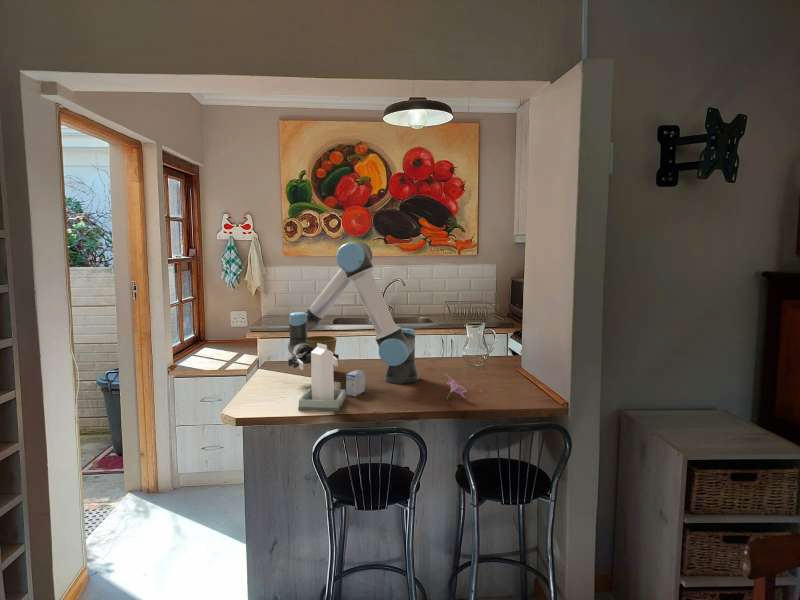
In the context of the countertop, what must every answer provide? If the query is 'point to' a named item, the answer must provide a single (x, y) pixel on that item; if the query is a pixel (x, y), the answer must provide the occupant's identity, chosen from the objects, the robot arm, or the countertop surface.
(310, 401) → the carton holder
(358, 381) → the medicine box
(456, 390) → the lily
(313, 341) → the plant pot
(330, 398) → the milk
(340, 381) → the countertop surface
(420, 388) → the countertop surface
